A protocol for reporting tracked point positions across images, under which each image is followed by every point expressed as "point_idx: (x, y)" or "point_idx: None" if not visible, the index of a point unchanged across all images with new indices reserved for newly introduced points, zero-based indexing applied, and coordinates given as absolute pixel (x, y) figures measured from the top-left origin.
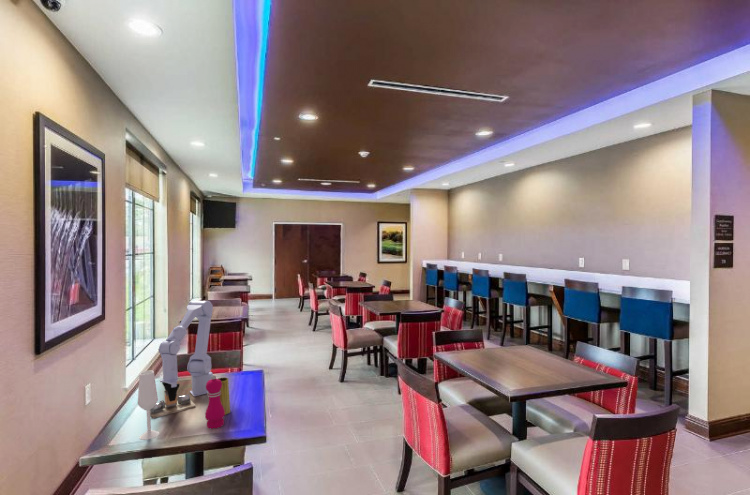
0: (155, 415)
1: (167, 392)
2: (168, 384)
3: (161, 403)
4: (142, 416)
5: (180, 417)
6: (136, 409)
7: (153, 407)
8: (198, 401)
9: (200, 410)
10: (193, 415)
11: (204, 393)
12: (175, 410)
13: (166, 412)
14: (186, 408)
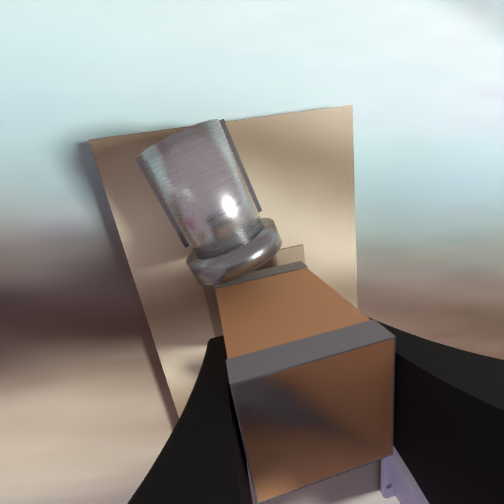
0: (104, 174)
1: (273, 395)
2: (492, 495)
3: (205, 250)
4: (204, 50)
5: (14, 370)
6: (420, 7)
7: (143, 152)
8: None
9: (108, 473)
10: (20, 448)
11: (383, 458)
12: (152, 336)
13: (140, 270)
14: (175, 398)
